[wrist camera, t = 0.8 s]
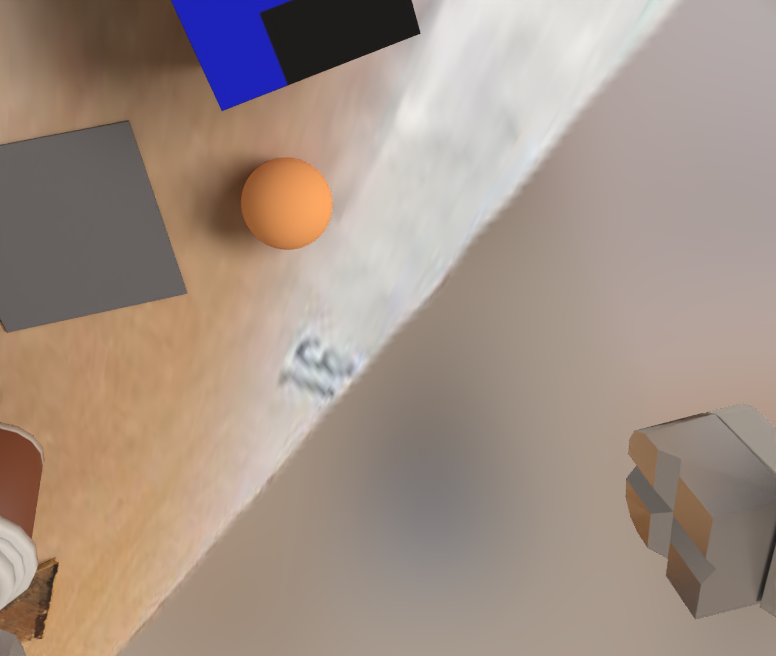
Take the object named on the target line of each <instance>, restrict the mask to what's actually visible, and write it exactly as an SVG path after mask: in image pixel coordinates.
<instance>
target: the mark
mask: <svg viewBox="0 0 776 656" xmlns="http://www.w3.org/2000/svg"><path fill="white" fill-rule="evenodd" d="M183 294H187V291H186V288H185V285H184V282H183V279H182V276H181V273H180V270H179V267H178V264H177V261H176V258H175V255H174V252H173V249H172V246H171V243H170V240H169V238H168V235H167V232H166V229H165V226H164V223H163V220H162V217H161V214H160V211H159V208H158V205H157V202H156V199H155V196H154V193H153V190H152V187H151V184H150V181H149V179H148V176H147V173H146V170H145V167H144V164H143V161H142V158H141V155H140V152H139V149H138V146H137V143H136V140H135V137H134V134H133V131H132V128H131V125H130V122H129V121H124V122H119V123H113V124H108V125H103V126H98V127H92V128H87V129H82V130H77V131H71V132H66V133H61V134H55V135H50V136H45V137H40V138H34V139H29V140H24V141H19V142H13V143H8V144H3V145H0V319H1V321H2V323H3V325H4V327H5V329H6V331H7V333H8V332H12V331H17V330H21V329H26V328H31V327H35V326H40V325H44V324H49V323H54V322H58V321H63V320H67V319H72V318H77V317H81V316H86V315H91V314H95V313H100V312H104V311H109V310H114V309H118V308H123V307H127V306H132V305H137V304H141V303H146V302H150V301H155V300H160V299H164V298H169V297H174V296H178V295H183Z"/></svg>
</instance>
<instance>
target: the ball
mask: <svg viewBox="0 0 776 656" xmlns="http://www.w3.org/2000/svg"><path fill="white" fill-rule="evenodd" d="M332 204H333V202H332V195H331V191H330V188H329V186H328V184H327V182H326V180H325V179H324V177H323V176H322V175H321V173H320V172H319V171H318V170H317V169H315V168H314V167H313V166H311V165H310V164H308V163H306V162H304V161H302V160H298V159H294V158H277V159H273V160H270V161H268V162H265V163H264V164H262V165H260V166H259V167H258V168H256V169H255V170H254V171H253V172H252V173H251V175H250V176H249V177H248V179H247V181H246V183H245V185H244V188H243V191H242V196H241V209H242V214H243V217H244V220H245V222H246V224H247V226H248V228H249V229H250V231H251V232H252V233H253V234H254V235H255V237H257V238H258V239H259V240H260V241H262V242H263V243H265V244H267V245H269V246H271V247H274V248H278V249H285V250H289V249H298V248H301V247H304V246H307V245H309V244H310V243H312V242H314V241H315V240H316V239H317V238H318V237H320V236H321V234H322V233H323V232H324V230H325V229H326V227H327V226H328V223H329V221H330V218H331V214H332Z"/></svg>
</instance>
